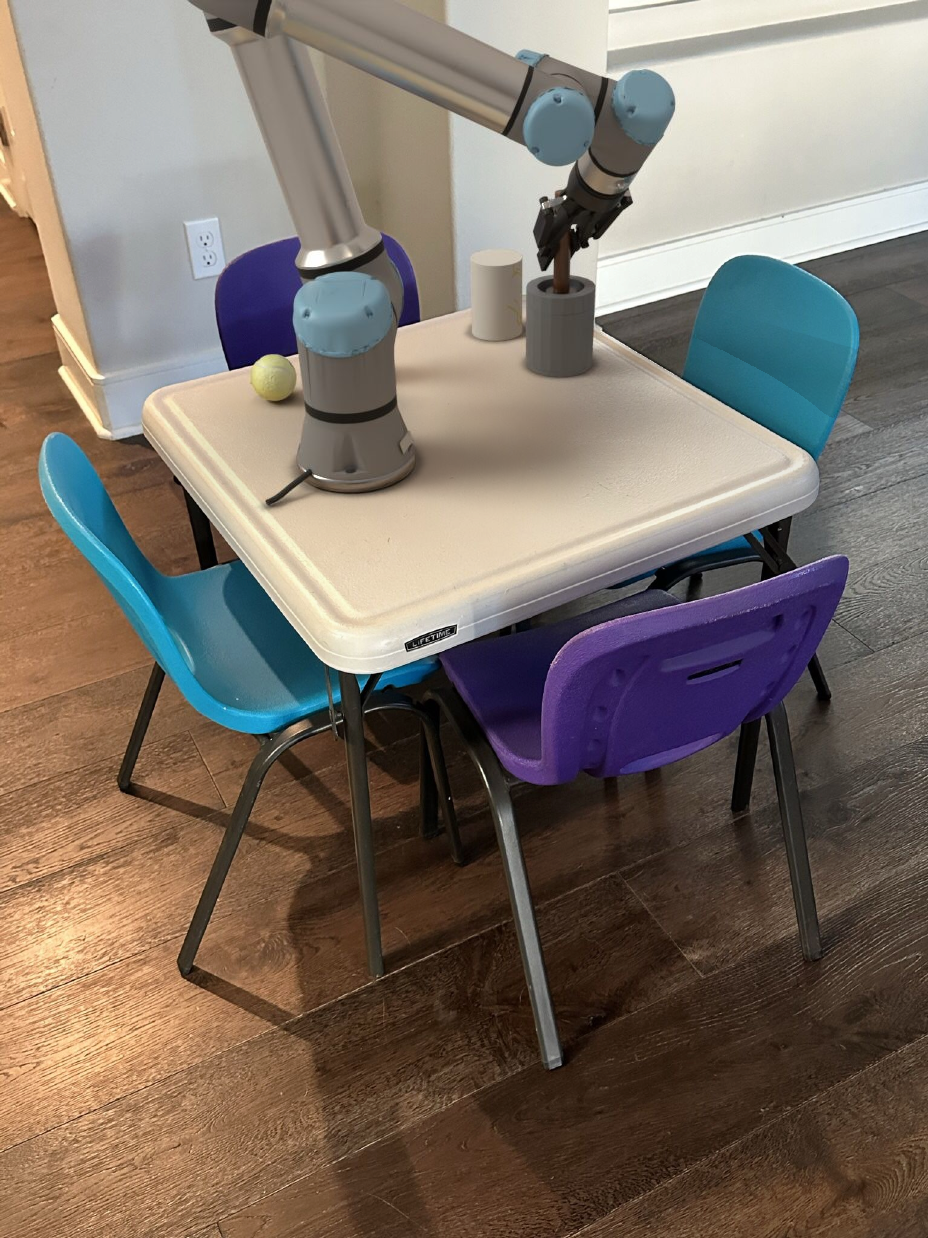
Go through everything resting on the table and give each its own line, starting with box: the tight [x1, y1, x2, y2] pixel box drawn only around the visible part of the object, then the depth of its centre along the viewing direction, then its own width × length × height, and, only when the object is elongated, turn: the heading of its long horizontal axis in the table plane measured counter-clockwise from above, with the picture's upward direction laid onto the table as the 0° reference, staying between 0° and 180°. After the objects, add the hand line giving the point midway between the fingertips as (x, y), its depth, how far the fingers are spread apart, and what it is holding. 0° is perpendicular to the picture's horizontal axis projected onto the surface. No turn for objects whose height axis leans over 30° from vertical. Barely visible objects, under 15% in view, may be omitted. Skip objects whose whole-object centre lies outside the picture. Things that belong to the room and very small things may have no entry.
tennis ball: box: [249, 353, 297, 402], centre depth 162 cm, size 6×7×7 cm
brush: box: [546, 189, 577, 295], centre depth 162 cm, size 5×5×20 cm
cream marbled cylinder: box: [469, 248, 523, 342], centre depth 179 cm, size 8×8×12 cm
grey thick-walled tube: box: [525, 274, 597, 378], centre depth 168 cm, size 10×10×12 cm
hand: (551, 260), depth 166 cm, fingers closed on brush, 2 cm apart
